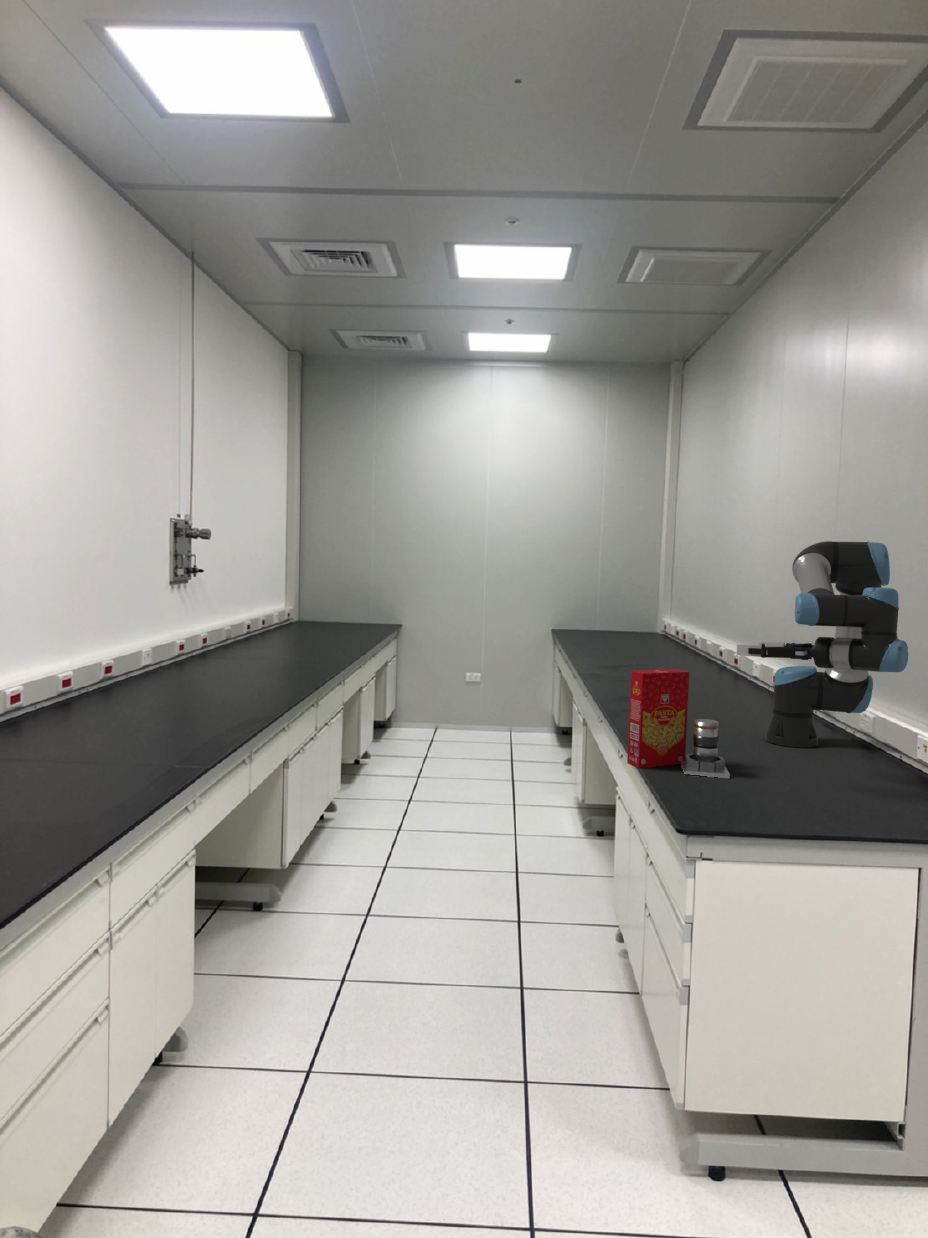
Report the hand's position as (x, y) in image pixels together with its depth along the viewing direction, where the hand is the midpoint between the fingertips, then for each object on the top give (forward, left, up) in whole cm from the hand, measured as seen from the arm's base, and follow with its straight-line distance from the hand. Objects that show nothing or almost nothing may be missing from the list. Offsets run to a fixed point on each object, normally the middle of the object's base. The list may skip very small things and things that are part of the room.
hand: (748, 648), depth 210 cm
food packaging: (+22, -2, -33) cm, 39 cm away
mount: (+10, +3, -32) cm, 34 cm away
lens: (+10, +3, -31) cm, 33 cm away
